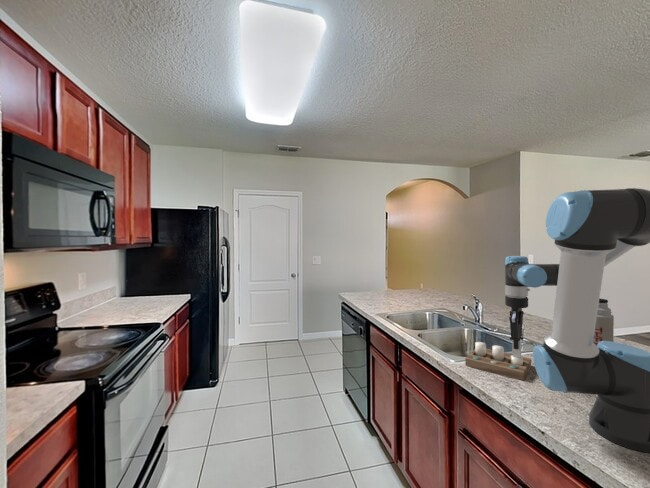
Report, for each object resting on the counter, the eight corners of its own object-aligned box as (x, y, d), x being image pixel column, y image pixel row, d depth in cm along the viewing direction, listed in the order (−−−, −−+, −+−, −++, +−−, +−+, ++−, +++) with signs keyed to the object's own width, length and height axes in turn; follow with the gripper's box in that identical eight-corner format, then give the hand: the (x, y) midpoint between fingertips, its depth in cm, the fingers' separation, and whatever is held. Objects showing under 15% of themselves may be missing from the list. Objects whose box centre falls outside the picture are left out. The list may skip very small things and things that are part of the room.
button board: (523, 380, 111) (523, 371, 110) (465, 365, 124) (465, 357, 124) (531, 365, 122) (531, 357, 122) (477, 353, 136) (477, 346, 136)
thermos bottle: (605, 379, 110) (605, 302, 109) (579, 370, 117) (580, 298, 116) (618, 375, 112) (618, 300, 111) (592, 366, 120) (593, 296, 119)
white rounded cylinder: (484, 358, 125) (484, 346, 125) (474, 355, 127) (473, 343, 127) (487, 355, 128) (487, 343, 127) (477, 352, 130) (476, 341, 130)
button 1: (521, 372, 116) (521, 360, 116) (509, 369, 119) (509, 357, 119) (523, 369, 119) (523, 356, 119) (512, 366, 122) (512, 354, 122)
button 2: (502, 362, 120) (502, 349, 120) (491, 359, 123) (491, 347, 123) (504, 359, 123) (504, 346, 123) (493, 356, 126) (493, 344, 126)
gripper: (524, 300, 110) (524, 364, 111) (531, 294, 120) (531, 353, 121) (501, 297, 116) (501, 359, 116) (509, 292, 125) (509, 349, 126)
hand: (516, 356), depth 119 cm, fingers closed
